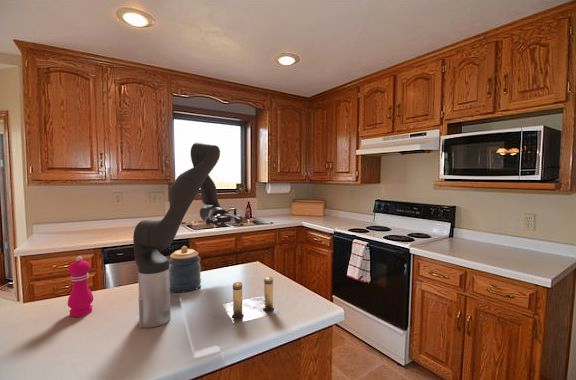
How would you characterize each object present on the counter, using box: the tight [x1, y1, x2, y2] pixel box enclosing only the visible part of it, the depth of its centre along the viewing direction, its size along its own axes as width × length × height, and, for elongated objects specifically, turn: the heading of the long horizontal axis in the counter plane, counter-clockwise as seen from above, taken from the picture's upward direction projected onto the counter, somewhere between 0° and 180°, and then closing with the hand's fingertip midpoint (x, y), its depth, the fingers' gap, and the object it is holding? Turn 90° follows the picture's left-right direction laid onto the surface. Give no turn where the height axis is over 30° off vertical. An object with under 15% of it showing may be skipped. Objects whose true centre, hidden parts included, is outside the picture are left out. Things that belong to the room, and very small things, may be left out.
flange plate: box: [222, 295, 281, 325], centre depth 99 cm, size 16×15×1 cm
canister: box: [169, 245, 202, 294], centre depth 120 cm, size 13×13×18 cm
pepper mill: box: [67, 255, 94, 318], centre depth 97 cm, size 7×7×20 cm
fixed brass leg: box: [263, 276, 274, 311], centre depth 98 cm, size 3×3×11 cm
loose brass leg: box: [232, 281, 243, 319], centre depth 93 cm, size 3×3×11 cm
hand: (228, 222), depth 108 cm, fingers open, 8 cm apart
